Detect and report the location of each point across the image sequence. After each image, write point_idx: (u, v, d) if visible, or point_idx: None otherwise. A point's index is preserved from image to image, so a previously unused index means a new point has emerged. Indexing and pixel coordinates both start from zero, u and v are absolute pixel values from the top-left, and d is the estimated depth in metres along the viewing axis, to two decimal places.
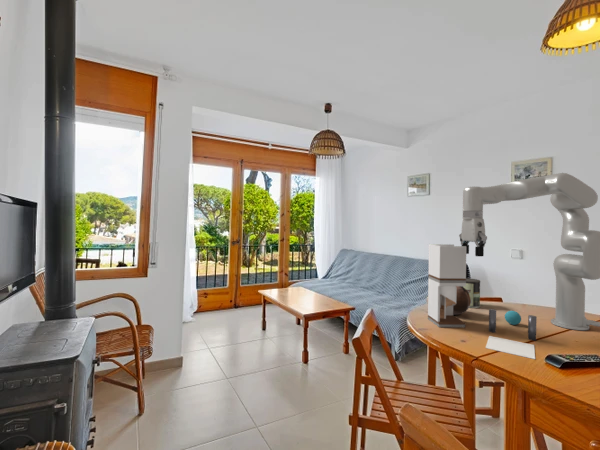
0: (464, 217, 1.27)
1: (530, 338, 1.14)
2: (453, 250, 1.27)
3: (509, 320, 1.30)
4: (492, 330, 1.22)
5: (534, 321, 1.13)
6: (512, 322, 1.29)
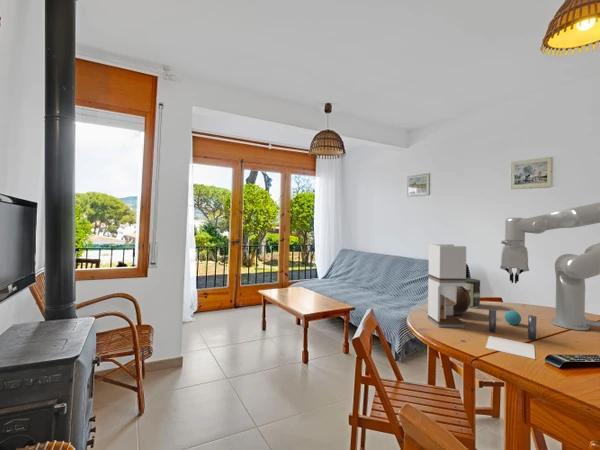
0: None
1: (530, 338, 1.14)
2: (453, 250, 1.27)
3: (509, 320, 1.30)
4: (492, 330, 1.22)
5: (534, 321, 1.13)
6: (512, 322, 1.29)
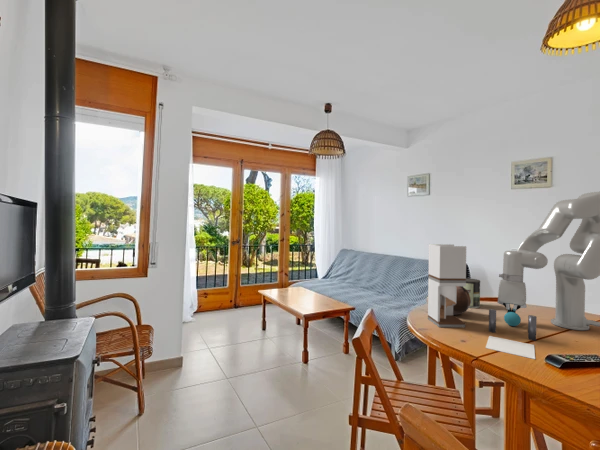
0: None
1: (530, 338, 1.14)
2: (453, 250, 1.27)
3: (509, 324, 1.29)
4: (492, 330, 1.22)
5: (534, 321, 1.13)
6: (512, 325, 1.29)
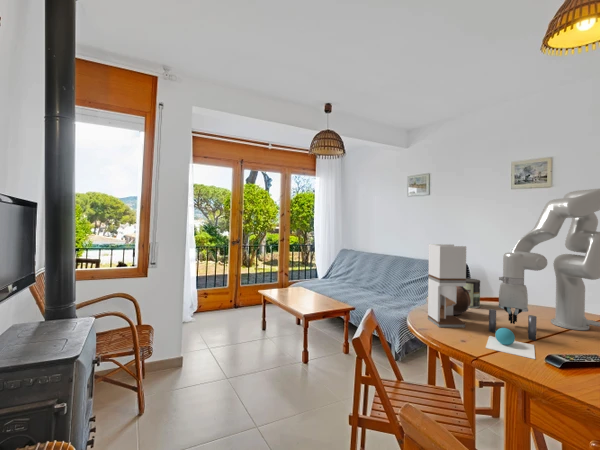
0: None
1: (530, 338, 1.14)
2: (453, 250, 1.27)
3: None
4: (492, 330, 1.22)
5: (534, 321, 1.13)
6: None
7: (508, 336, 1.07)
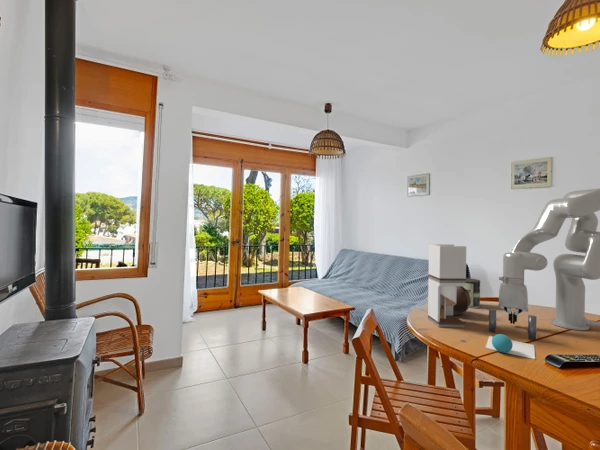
0: None
1: (530, 338, 1.14)
2: (453, 250, 1.27)
3: (497, 343, 1.02)
4: (492, 330, 1.22)
5: (534, 321, 1.13)
6: (501, 346, 1.01)
7: None
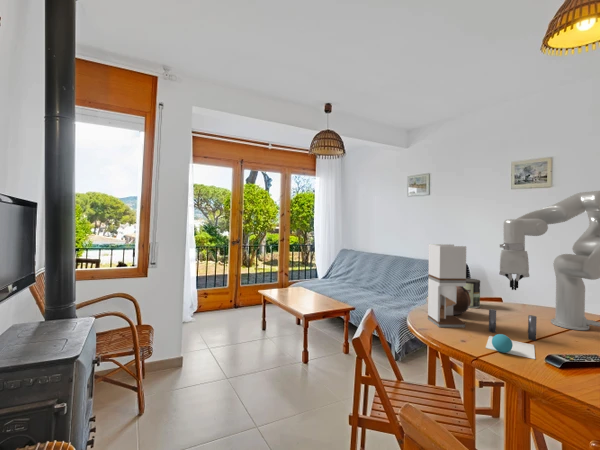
0: None
1: (530, 338, 1.14)
2: (453, 250, 1.27)
3: (497, 343, 1.02)
4: (492, 330, 1.22)
5: (534, 321, 1.13)
6: (501, 346, 1.01)
7: None
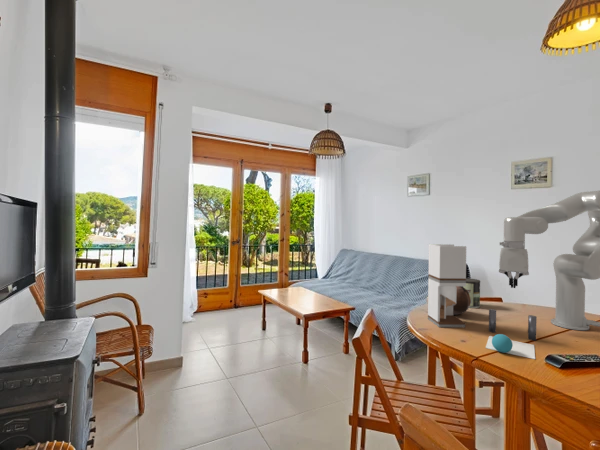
0: None
1: (530, 338, 1.14)
2: (453, 250, 1.27)
3: (497, 343, 1.02)
4: (492, 330, 1.22)
5: (534, 321, 1.13)
6: (501, 346, 1.01)
7: None
